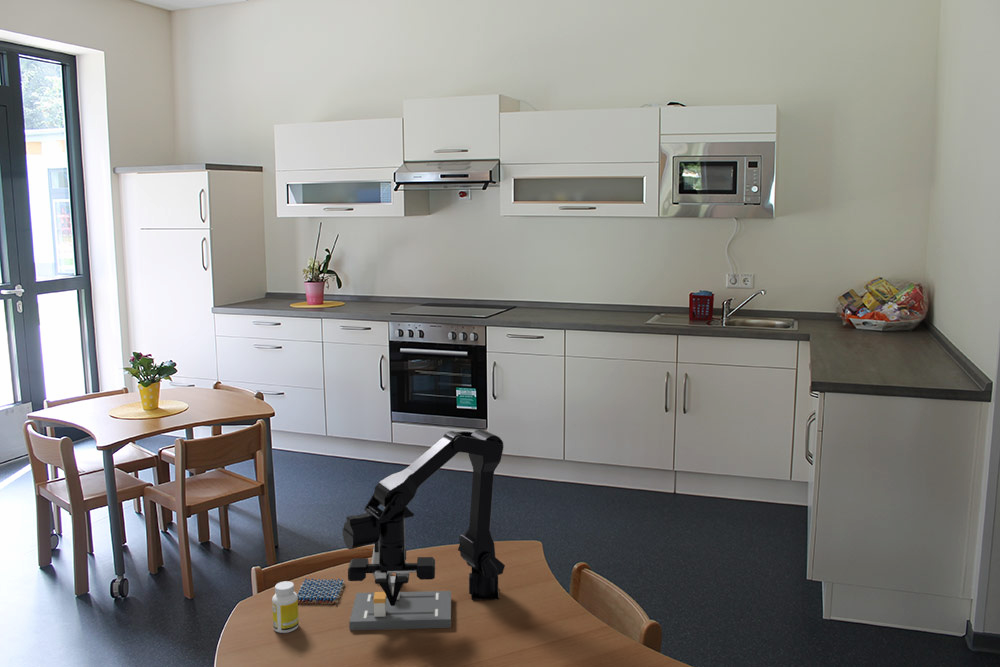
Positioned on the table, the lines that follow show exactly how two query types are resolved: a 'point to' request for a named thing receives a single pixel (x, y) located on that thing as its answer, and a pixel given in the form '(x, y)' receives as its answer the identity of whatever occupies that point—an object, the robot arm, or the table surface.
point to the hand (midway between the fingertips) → (392, 605)
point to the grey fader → (393, 585)
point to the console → (403, 611)
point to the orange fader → (379, 604)
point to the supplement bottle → (285, 608)
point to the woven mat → (320, 591)
